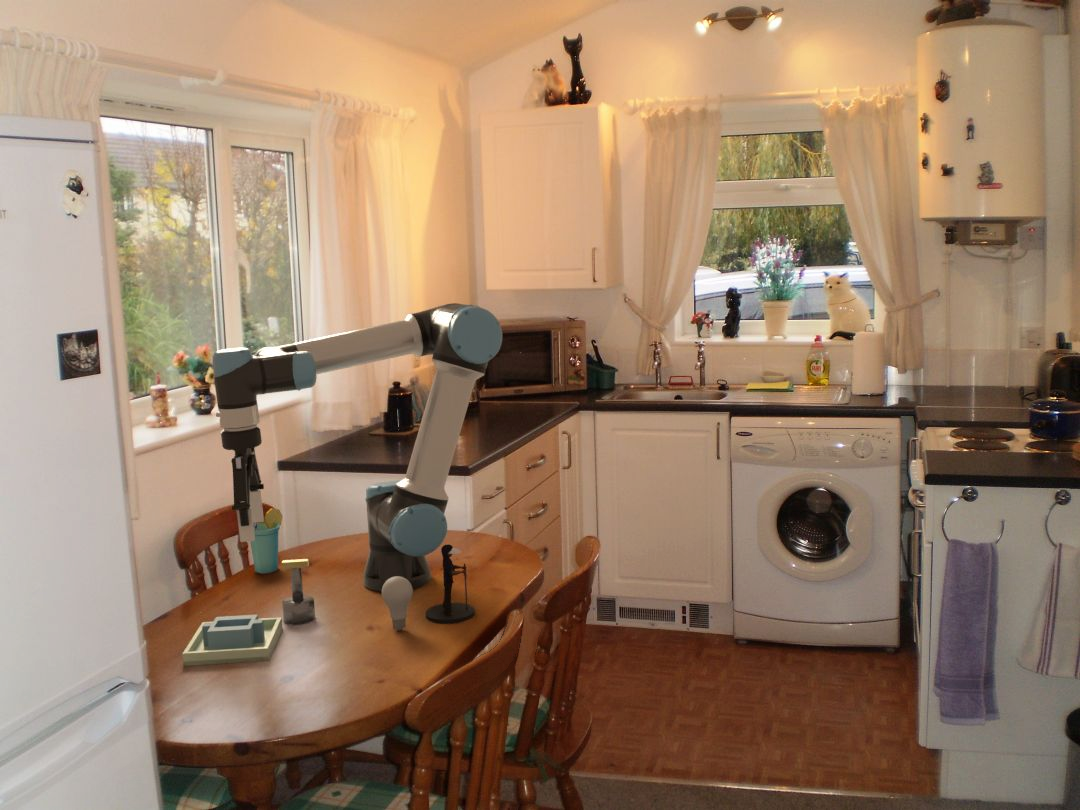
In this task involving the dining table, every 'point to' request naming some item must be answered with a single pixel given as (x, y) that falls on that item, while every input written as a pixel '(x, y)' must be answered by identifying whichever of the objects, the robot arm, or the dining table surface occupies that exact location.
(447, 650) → the dining table surface
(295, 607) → the grey stamp
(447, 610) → the figurine
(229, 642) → the slotted blue block
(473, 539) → the dining table surface
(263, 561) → the cup
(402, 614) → the lightbulb
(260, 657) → the tray
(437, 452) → the robot arm
